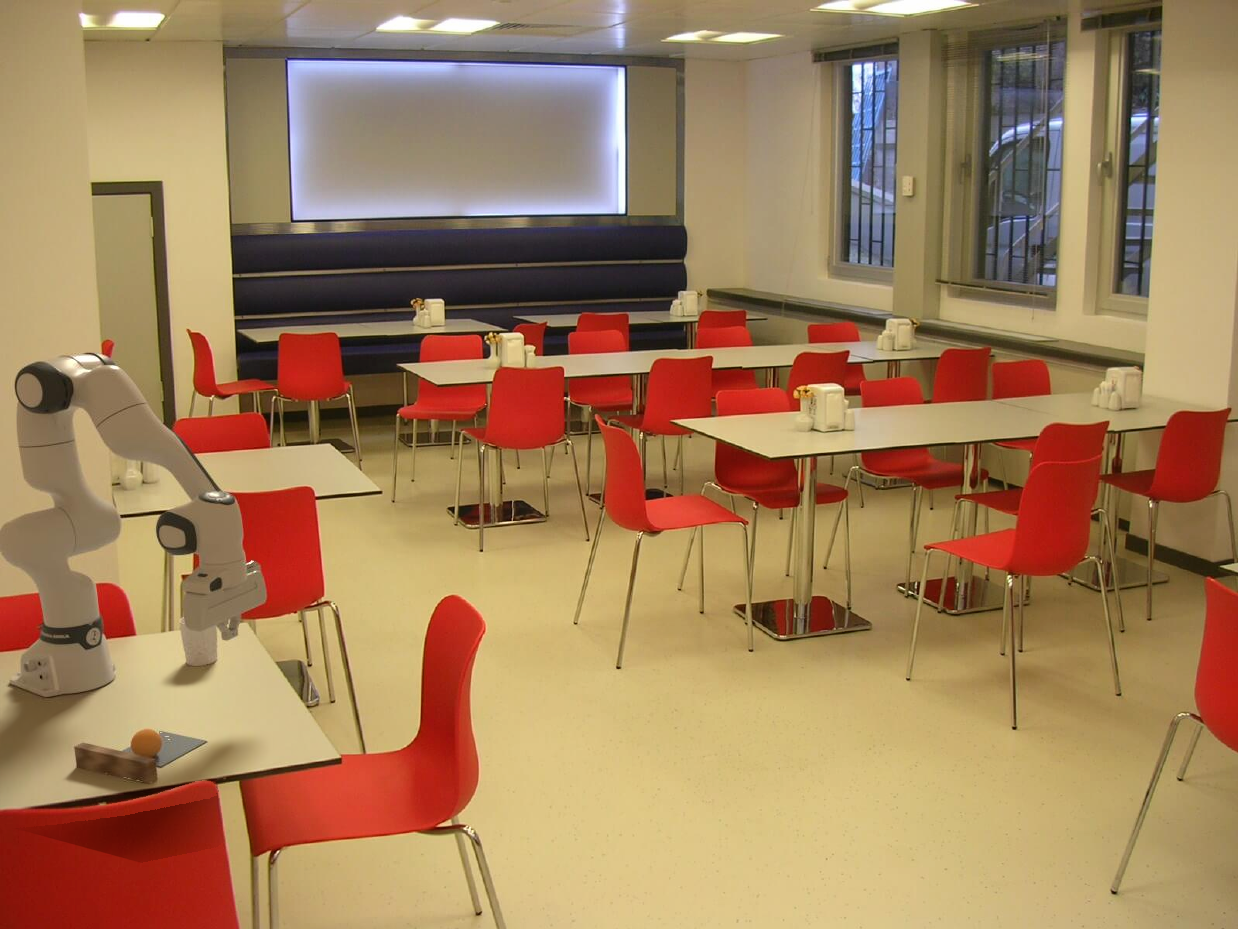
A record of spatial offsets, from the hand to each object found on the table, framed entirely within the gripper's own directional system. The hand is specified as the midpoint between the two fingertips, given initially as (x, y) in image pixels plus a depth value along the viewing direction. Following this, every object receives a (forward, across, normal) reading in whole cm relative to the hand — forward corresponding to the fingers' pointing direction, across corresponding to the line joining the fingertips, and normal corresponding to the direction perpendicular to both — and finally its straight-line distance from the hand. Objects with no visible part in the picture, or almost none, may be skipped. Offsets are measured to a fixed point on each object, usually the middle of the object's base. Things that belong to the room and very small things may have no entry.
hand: (230, 638), depth 267 cm
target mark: (+15, +21, 0) cm, 26 cm away
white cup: (+15, -18, -26) cm, 35 cm away
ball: (+12, +25, 0) cm, 28 cm away
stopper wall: (+15, +32, 0) cm, 35 cm away
